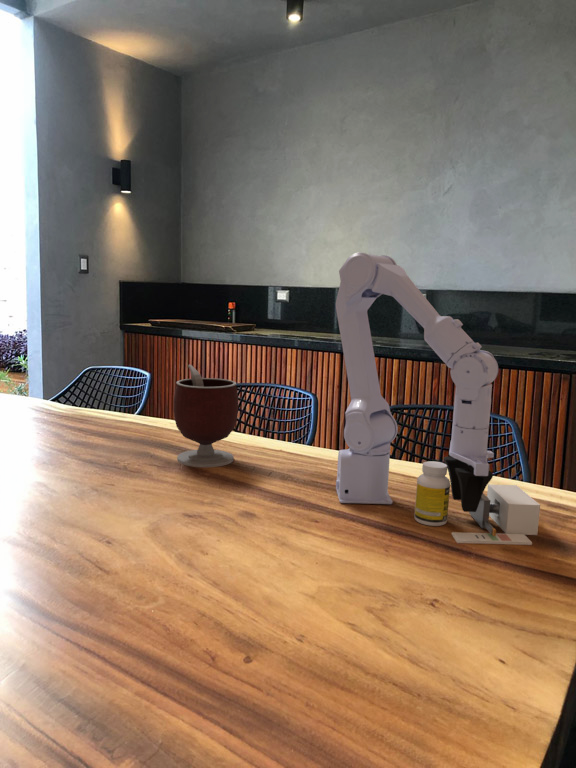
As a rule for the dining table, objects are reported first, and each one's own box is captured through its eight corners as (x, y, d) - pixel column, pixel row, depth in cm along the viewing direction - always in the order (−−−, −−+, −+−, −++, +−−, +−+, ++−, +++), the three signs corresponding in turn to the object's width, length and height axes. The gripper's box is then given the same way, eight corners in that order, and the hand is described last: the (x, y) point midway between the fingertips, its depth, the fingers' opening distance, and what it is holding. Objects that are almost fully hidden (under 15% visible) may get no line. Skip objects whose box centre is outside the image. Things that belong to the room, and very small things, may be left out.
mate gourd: (248, 463, 134) (251, 371, 131) (190, 472, 126) (191, 375, 123) (215, 446, 146) (216, 363, 143) (160, 454, 139) (160, 365, 136)
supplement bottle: (448, 528, 100) (452, 470, 99) (414, 525, 101) (417, 467, 100) (446, 516, 105) (450, 461, 104) (414, 513, 106) (417, 458, 105)
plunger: (491, 539, 96) (493, 510, 95) (468, 512, 107) (470, 486, 106) (542, 540, 96) (545, 511, 95) (514, 513, 107) (517, 487, 106)
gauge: (457, 542, 94) (459, 511, 94) (434, 510, 108) (436, 482, 108) (548, 545, 95) (551, 514, 94) (513, 512, 109) (516, 485, 108)
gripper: (511, 436, 94) (503, 521, 96) (480, 417, 108) (474, 491, 110) (465, 435, 94) (458, 520, 96) (440, 415, 108) (435, 490, 110)
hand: (464, 505), depth 103 cm, fingers open, 5 cm apart
